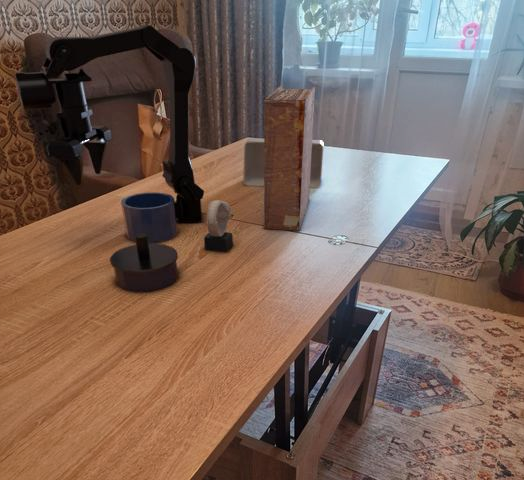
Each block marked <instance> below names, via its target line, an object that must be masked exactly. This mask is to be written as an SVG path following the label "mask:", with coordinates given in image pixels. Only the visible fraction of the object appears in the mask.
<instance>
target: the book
mask: <svg viewBox="0 0 524 480" xmlns="http://www.w3.org/2000/svg"><path fill="white" fill-rule="evenodd" d="M315 94H316V87H315V86H312V88H283V86H282V85H280V86H278V87H277V88H276V89H275V90H274V91H273V92H272V93H271V94H270V95H268V96H267V97H266V98H265V99H264V100H263V101H264V107H263V109H264V111H263V112H264V115H263V117H264V123H263V124H264V125H263V129H264V131H263V132H264V133H263V136H264V138H263V139H264V186H263V198H264V199H263V205H264V206H263V210H264V211H263V215H264V216H263V218H264V219H263V229H267V230H281V231H283V230H284V231H297V232H299V231H300V230H301V226H302V224H303V221H304V217H305V214H306V211H307V208H308V204H309V202H310V189H311V188H310V170H311V151H312V140H313V132H314V131H313V130H314V129H313V128H314V114H315V113H314V112H315Z"/></svg>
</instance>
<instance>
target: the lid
mask: <svg viewBox="0 0 524 480" xmlns="http://www.w3.org/2000/svg"><path fill="white" fill-rule="evenodd" d="M135 240H136V242H135V244H132V245H127V246H125V247H122V248H120V249H118V250H117V251H115V252H114V253H112V255H111V256H110V258H109V264H110V265H111V266H112V268H113V269H114V268H115V269H117V270H119V271H123V272H128V273H147V272H153V271H158V270H161V269H164V268H166V267H168V266H170V265H172V264H173V263H174V262H175V261H176V262H177V260H178V258H179V254H178V251H177V250H176V249H175V248H174V247H173V246H170V245H167V244H163V243H158V242H157V243H148V239H147V234H144V233H140V234H136V235H135Z"/></svg>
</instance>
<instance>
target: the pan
mask: <svg viewBox="0 0 524 480" xmlns="http://www.w3.org/2000/svg"><path fill="white" fill-rule="evenodd" d="M113 272H114V276H115V281H116V283H117V285H118V286H119V287H120V288H122V289H123V290H127V291H130V292H137V293H138V292H139V293H140V292H141V293H145V292H154V291H158V290H161V289H165V288H167V287H169V286H171V285H172V284H174V282H176V281H177V279H178V264H177V260H176V261H175V262H174V263H173V264H172V265H170V266H168V267H166V268H164V269H161V270H158V271H153V272H147V273H128V272H123V271H119V270H117V269H115V268H114V267H113Z"/></svg>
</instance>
